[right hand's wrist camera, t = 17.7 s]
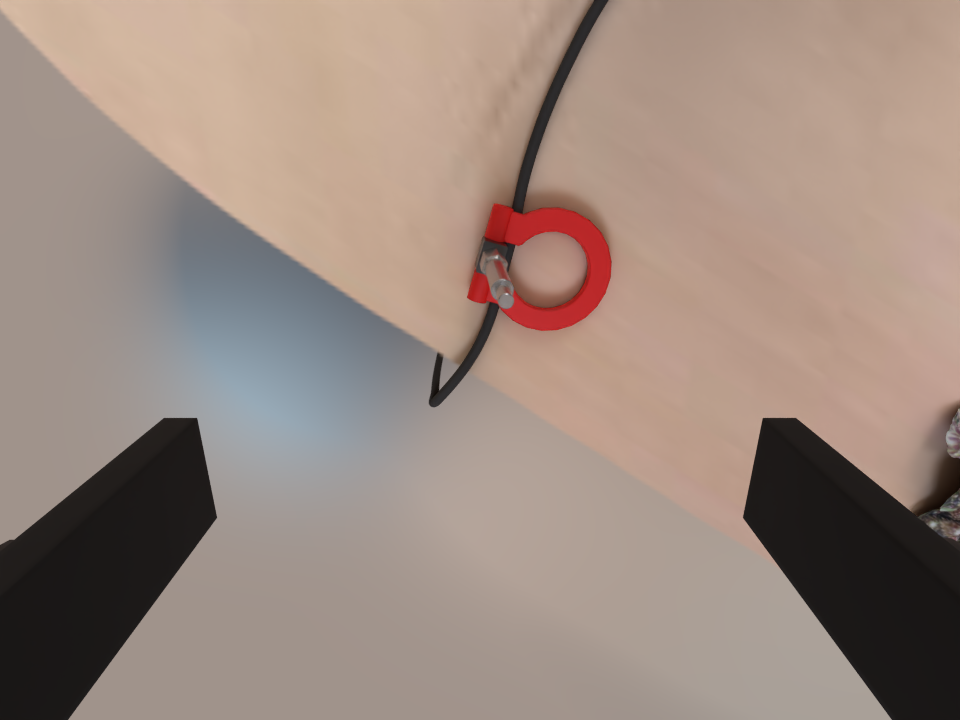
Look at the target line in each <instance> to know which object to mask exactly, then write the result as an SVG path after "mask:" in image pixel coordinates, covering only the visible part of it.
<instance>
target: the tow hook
mask: <svg viewBox="0 0 960 720" xmlns="http://www.w3.org/2000/svg"><path fill="white" fill-rule="evenodd" d="M544 232H561V233H565V234H567V235H569V236H571V237H573V238H574V239H575V240H576V241H577V242H578V243H579V244H580V245H581V246H582V248H583V250H584V252H585V254H586V258H587V263H588V269H587V276H586V280H585V283H584V285H583V286H582V288H581V290H580V291H579V293H578V294H577V295H576V296H575V297H574V298H573V299H572V300H570V301H568V302H567V303H565V304H563V305H560V306H557V307H554V308H540V307H536V306H533V305H531V304H529V303H527V302H525V301H524V300H523V299H522V298H521V297H520V296H518V295H517V293H516V291H515V290H514V287H513V284H512V282H511V279H510V277H509V275H508V273H507V266H508V263H507V261H506V259H505V256H506V253H507V250H508V247H507V246H506V244H505V242H507V243H511V244H514V245H518V246H519V245H522V244H523V243H524V242H525V241H526V240H528V239H530V238H531V237H533V236H535V235H537V234H540V233H544ZM610 277H611V257H610V252H609V248H608V245H607V243H606V241H605V239H604V237H603V235H602V233H601V232H600V231H599V230H598V229H597V227H596V226H595V225H594V224H593V223H592V222H591V221H590V220H588V219H586V218H585V217H583V216H581V215H579V214H578V213H576V212H574V211H570V210H566V209H562V208H558V207H557V208H540V209H537V210H534V211H530V212H527V213H525V214H521V213H517V212H514V209H512V208H510V207H507V206H504V205H501V204H496V203H495V204H494V205H493V208H492V212H491V215H490V219H489V222H488V226H487V229H486V233H485V236H484V237H483V238H482V242H481V245H480V249H479V252H478V256H477V259H476V263H475V271H474V275H473V278H472V282H471V285H470V289H469V292H468V296H467V298H468V299H470V300H472V301H474V302H477V303H486V301H489V302H493V303H497V304H498V305H499V307H500V308H501V310H502V311H503V312H504V313H505V314H506V315H507V316H509V317H510V318H511V319H512V320H513V321H515V322H517V323H519V324H521V325H523V326H525V327H527V328H531V329H536V330H541V331H545V330H559V329H562V328H565V327H569V326H572V325H574V324H575V323H577V322H579V321H580V320H582V319H584V318H586V317H587V316H588V315H589V314H590V313H591V312H592V311H593V310H594V309H595V308H596V307H597V306H598V304H599V302H600V301H601V299H602V298H603V296H604V294H605V293H606V290H607V287H608V284H609V281H610Z"/></svg>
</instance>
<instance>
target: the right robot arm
mask: <svg viewBox="0 0 960 720" xmlns="http://www.w3.org/2000/svg"><path fill="white" fill-rule="evenodd" d="M607 2H608V0H594V2H593V3H592V5H591V7H590V8H589V10H588V12H587V14H586V15H585V17H584V19H583V21H582V22H581V24H580V26H579V28H578V30H577V32H576V34H575V36H574V38H573V40H572V42H571V44H570V46H569V48H568V50H567V52H566V54H565V56H564V58H563V60H562V62H561V64H560V67H559V69H558V71H557V73H556V75H555V77H554V79H553V82H552V84H551V86H550V88H549V91H548V93H547V96H546V98H545V100H544V103H543V105H542V108H541V110H540V113H539V116H538V118H537V121H536V124H535V126H534V129H533V132H532V135H531V138H530V141H529V144H528V147H527V150H526V153H525V157H524V160H523V163H522V167H521V171H520V175H519V179H518V183H517V187H516V192H515V197H514V202H513V207H512V209H514V212H517V213H521V214H522V211H523V206H524V201H525V196H526V192H527V187H528V183H529V179H530V175H531V172H532V168H533V165H534V161H535V158H536V155H537V152H538V149H539V146H540V143H541V140H542V137H543V134H544V132H545V129H546V126H547V123H548V121H549V118H550V116H551V113H552V111H553V108H554V106H555V103H556V101H557V99H558V96H559V94H560V92H561V90H562V87H563V85H564V83H565V81H566V79H567V77H568V74H569V72H570V70H571V68H572V66H573V64H574V62H575V60H576V58H577V56H578V54H579V52H580V50H581V48H582V46H583V44H584V42H585V40H586V38H587V36H588V34H589V32H590V31H591V29H592V27H593V25H594V23H595V22H596V20H597V18H598V17H599V15H600V13H601V12H602V10H603V8H604V7H605V5H606V3H607ZM505 244H506V246H507V247H508V250H507V253H506V256H505V259H506V261H507V263H508V266H507V273H508V271H509V267H510V263H511V259H512V256H513V252H514V248H515V245H514V244H511V243H507V242H505ZM498 309H499V305H498V304H497V303H493V302H490V304H489V308H488V311H487V314H486V317H485V320H484V322H483V325H482V327H481V330H480V332H479V334H478V336H477V338H476V340H475V342H474V344H473V346H472V348H471V350H470V351H469V353H468V355H467V356H466V358H465V359H464V361H463V362H462V364H461V365H460V366H459V368H458V369H457V371H456V372H455V373H454V374H453V376H452V377H451V378H450V379H449V380H448V382H447V383H446V384H445V385H444V386H443V387H442V388H441V390H440V391H439V384H440V375H441V368H442V362H443V356H444V355H443V354H441V353H439V352H437V356H436V361H435V366H434V371H433V377H432V386H431V394H430V398H429V405H430V406H431V407H437V406H438V405H440V404H441V403H442V402H443V401H444V399H445V398H446V397H447V396H448V395H449V394H450V393H451V392H452V391H453V390H454V388H455V387H456V386H457V385H458V384H459V382H460V381H461V380H462V379H463V377H464V376H465V375H466V374H467V372H468V371H469V369H470V368H471V367H472V365H473V364H474V362H475V360H476V359H477V357H478V356H479V354H480V352H481V350H482V348H483V347H484V345H485V342H486V340H487V338H488V336H489V334H490V332H491V329H492V327H493V324H494V321H495V319H496V316H497V312H498ZM216 518H217V516H216V510H215V505H214V500H213V495H212V490H211V485H210V480H209V475H208V470H207V465H206V460H205V455H204V450H203V445H202V440H201V435H200V430H199V425H198V420H197V418H164V419H162V420H161V421H160V422H159V423H157V424H156V425H155V426H154V427H152V428H151V429H150V430H149V431H148V432H146V433H145V434H144V435H143V436H141V437H140V438H139V439H138V440H137V441H135V442H134V443H133V444H132V445H130V446H129V447H128V448H127V449H125V450H124V451H123V452H122V453H121V454H119V455H118V456H117V457H116V458H114V459H113V460H112V461H111V462H109V463H108V464H107V465H106V466H105V467H103V468H102V469H101V470H100V471H98V472H97V473H96V474H95V475H94V476H92V477H91V478H90V479H89V480H87V481H86V482H85V483H84V484H82V485H81V486H80V487H79V488H78V489H76V490H75V491H74V492H73V493H71V494H70V495H69V496H68V497H66V498H65V499H64V500H63V501H62V502H60V503H59V504H58V505H57V506H55V507H54V508H53V509H52V510H51V511H49V512H48V513H47V514H46V515H44V516H43V517H42V518H41V519H39V520H38V521H37V522H36V523H35V524H33V525H32V526H31V527H30V528H28V529H27V530H26V531H25V532H23V533H22V534H21V535H20V536H18V537H17V538H16V539H15V540H9V541H7V542H5V543H3V544H1V545H0V720H68V719H69V718H70V716H71V715H72V714H73V712H74V711H75V710H76V708H77V707H78V705H79V704H80V703H81V701H82V700H83V699H84V697H85V696H86V695H87V693H88V692H89V691H90V689H91V688H92V686H93V685H94V684H95V682H96V681H97V680H98V678H99V677H100V676H101V674H102V673H103V672H104V670H105V669H106V668H107V666H108V665H109V663H110V662H111V661H112V659H113V658H114V657H115V655H116V654H117V653H118V651H119V650H120V648H121V647H122V646H123V644H124V643H125V642H126V640H127V639H128V638H129V636H130V635H131V634H132V632H133V631H134V630H135V628H136V627H137V625H138V624H139V623H140V621H141V620H142V619H143V617H144V616H145V615H146V613H147V612H148V611H149V609H150V608H151V607H152V605H153V604H154V602H155V601H156V600H157V598H158V597H159V596H160V594H161V593H162V592H163V590H164V589H165V588H166V586H167V585H168V583H169V582H170V581H171V579H172V578H173V577H174V575H175V574H176V573H177V571H178V570H179V569H180V567H181V566H182V564H183V563H184V562H185V560H186V559H187V558H188V556H189V555H190V554H191V552H192V551H193V550H194V548H195V547H196V545H197V544H198V543H199V541H200V540H201V539H202V537H203V536H204V535H205V533H206V532H207V530H208V529H209V528H210V527H211V525H212V524H213V522H214V521H215V520H216ZM743 518H744V520H745V521H746V522H747V524H748V525H749V527H750V528H751V529H752V531H753V532H754V533H755V535H756V536H757V537H758V539H759V540H760V541H761V543H762V544H763V545H764V547H765V548H766V550H767V551H768V552H769V554H770V555H771V556H772V558H773V559H774V560H775V562H776V563H777V564H778V566H779V567H780V569H781V570H782V571H783V573H784V574H785V575H786V577H787V578H788V579H789V581H790V582H791V583H792V585H793V586H794V587H795V589H796V590H797V592H798V593H799V594H800V596H801V597H802V598H803V600H804V601H805V602H806V604H807V605H808V606H809V608H810V609H811V610H812V612H813V613H814V615H815V616H816V617H817V619H818V620H819V621H820V623H821V624H822V625H823V627H824V628H825V630H826V631H827V632H828V634H829V635H830V636H831V638H832V639H833V640H834V642H835V643H836V644H837V646H838V647H839V649H840V650H841V651H842V652H843V654H844V655H845V657H846V658H847V659H848V661H849V662H850V663H851V665H852V666H853V668H854V669H855V670H856V672H857V673H858V674H859V676H860V677H861V678H862V680H863V681H864V682H865V684H866V685H867V687H868V688H869V689H870V691H871V692H872V693H873V695H874V696H875V697H876V699H877V700H878V701H879V703H880V704H881V705H882V707H883V708H884V710H885V711H886V712H887V714H888V715H889V716H890V718H891V719H892V720H960V543H959V542H958V541H956V540H954V539H952V538H943V537H942V536H940V535H939V534H938V533H937V532H935V531H934V530H933V529H932V528H930V527H929V526H928V525H927V524H926V523H924V522H923V521H922V520H921V519H919V518H918V517H917V516H916V515H914V514H913V513H912V512H911V511H910V510H908V509H907V508H906V507H905V506H903V505H902V504H901V503H900V502H898V501H897V500H896V499H895V498H894V497H892V496H891V495H890V494H889V493H887V492H886V491H885V490H884V489H883V488H881V487H880V486H879V485H878V484H876V483H875V482H874V481H873V480H871V479H870V478H869V477H868V476H867V475H865V474H864V473H863V472H862V471H860V470H859V469H858V468H857V467H855V466H854V465H853V464H852V463H851V462H849V461H848V460H847V459H846V458H844V457H843V456H842V455H841V454H839V453H838V452H837V451H836V450H835V449H833V448H832V447H831V446H830V445H828V444H827V443H826V442H825V441H823V440H822V439H821V438H820V437H819V436H817V435H816V434H815V433H814V432H812V431H811V430H810V429H809V428H808V427H806V426H805V425H804V424H803V423H801V422H800V421H799V420H798V419H796V418H763V420H762V425H761V430H760V435H759V440H758V445H757V450H756V455H755V460H754V465H753V470H752V475H751V480H750V485H749V490H748V495H747V500H746V505H745V510H744V515H743Z"/></svg>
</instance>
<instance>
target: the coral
mask: <svg viewBox="0 0 960 720" xmlns="http://www.w3.org/2000/svg"><path fill="white" fill-rule="evenodd" d="M946 442H947V444H948V446H947V447H948V449H947V452H948V453H949V454H950V456H951V457H953V458H956V457H957V458H960V408H959V409H958V411H957V413H956V415H955V416H954V417H953V421H952V424H951V425H950V429H949V431H948V432H947V435H946ZM940 508H941V509H936V510H933V511H930V512H927V513H925V514H922V515H920V516H918V518H919V519H921V520H922V521H923V522H924V523H926V524H927V525H928V526H929V527H930V528H932V529H933V530H934V531H935V532H937V533H938V534H939V535H940V536H942V537H943V538H952V539H954V540H956V541H958V542H959V543H960V488H959V490H958V491H957V492H956V493H955V494H953V495H952V496H951V497H950V498H948V499H947V500H946V502H945V503H944V504H943V505H942V506H941V507H940Z"/></svg>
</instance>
